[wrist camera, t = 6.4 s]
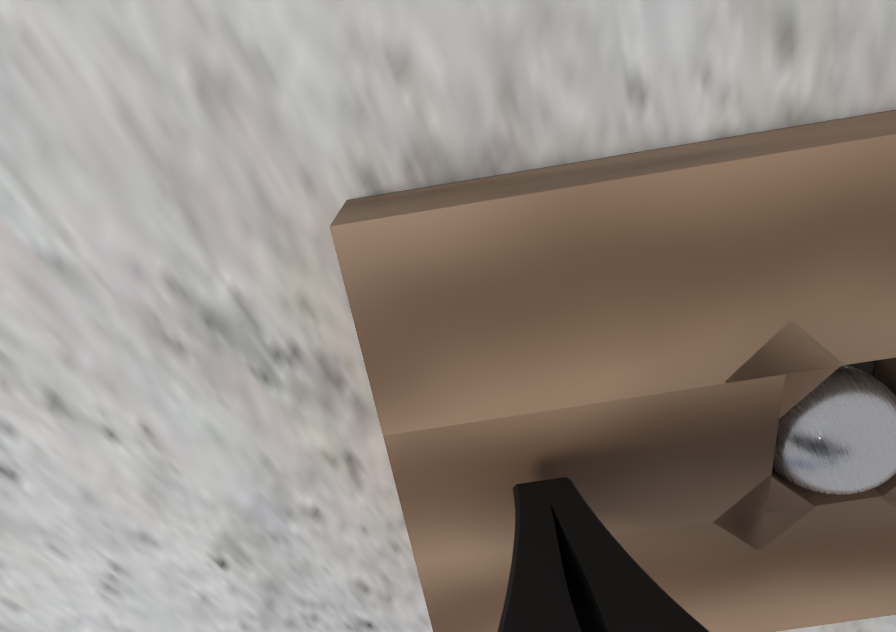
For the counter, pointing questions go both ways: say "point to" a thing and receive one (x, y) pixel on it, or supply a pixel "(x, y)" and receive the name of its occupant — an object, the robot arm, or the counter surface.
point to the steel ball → (839, 435)
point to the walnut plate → (637, 364)
